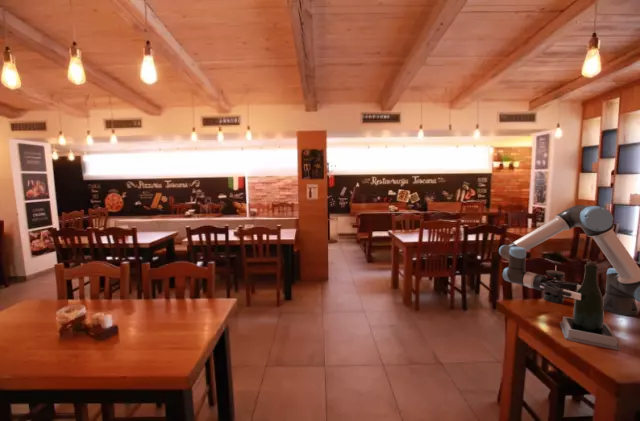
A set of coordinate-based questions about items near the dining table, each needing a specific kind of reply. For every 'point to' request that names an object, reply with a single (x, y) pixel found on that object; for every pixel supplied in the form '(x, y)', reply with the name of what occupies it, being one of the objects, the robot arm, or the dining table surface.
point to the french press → (556, 274)
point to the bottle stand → (589, 335)
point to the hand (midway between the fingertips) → (587, 294)
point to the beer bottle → (589, 303)
